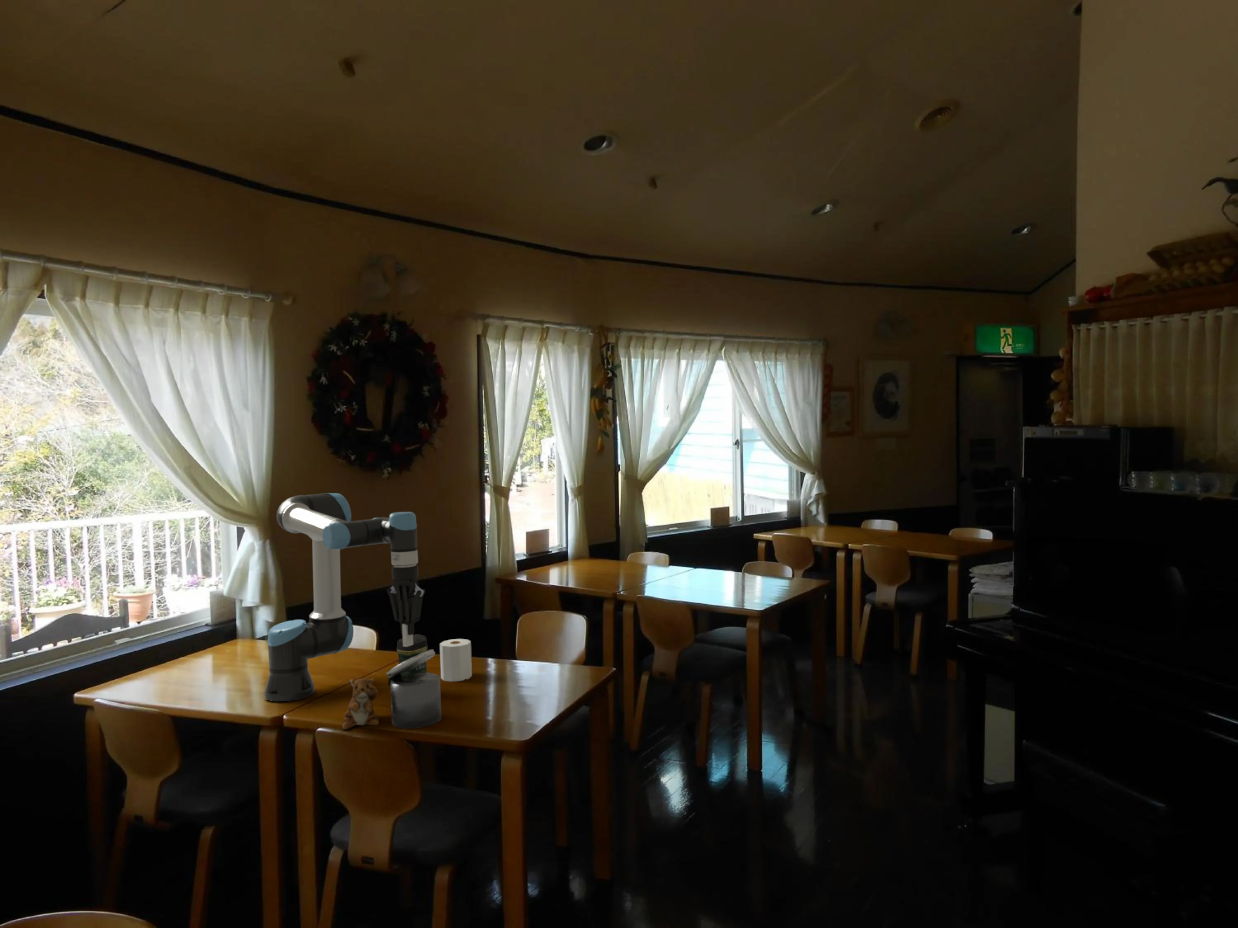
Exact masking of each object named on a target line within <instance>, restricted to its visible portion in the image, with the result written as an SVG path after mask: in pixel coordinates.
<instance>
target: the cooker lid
mask: <svg viewBox="0 0 1238 928" xmlns="http://www.w3.org/2000/svg"><path fill="white" fill-rule="evenodd" d="M435 656H436V652H435V651H434V649H427V651H425V652H423V653H420V654H418V655H416V656H414V657H412V658H410V659H408V660H406V661H404V662H402V663H401V664H399V663H398V664H397V665H396V666H394V667H392V668H391V669H389V670H388V671H387V672H386V676H387V679H388V678H390V679H391V678H394V677H396V676H399V675H401V674H403V673H405V672H407V671H409V670H411V669H413V668H415V667H417V666H419V665H421V664H422V663H424V662H426V663H427V661H428V660H431V659H432V658H433V657H435Z"/></svg>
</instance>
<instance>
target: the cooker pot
mask: <svg viewBox="0 0 1238 928" xmlns="http://www.w3.org/2000/svg"><path fill="white" fill-rule="evenodd" d="M387 680H388V684H387V685H388V686H390V704H391V705H390V709H391V710H390V711H391V724H392V725H393V727H395V728H400V729H410V730H411V729H418V728H419V729H420V728H425V727H429V726H430V727H431V725H435V724H436V723H438V722H439V721H440V720H441V719H442V702H441V698H442V697H441V675H439V674H436V673H433V672H427V673H411V674H405V675H399V676H396V677H394V678H391V679H390V678H388V677H387Z"/></svg>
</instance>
